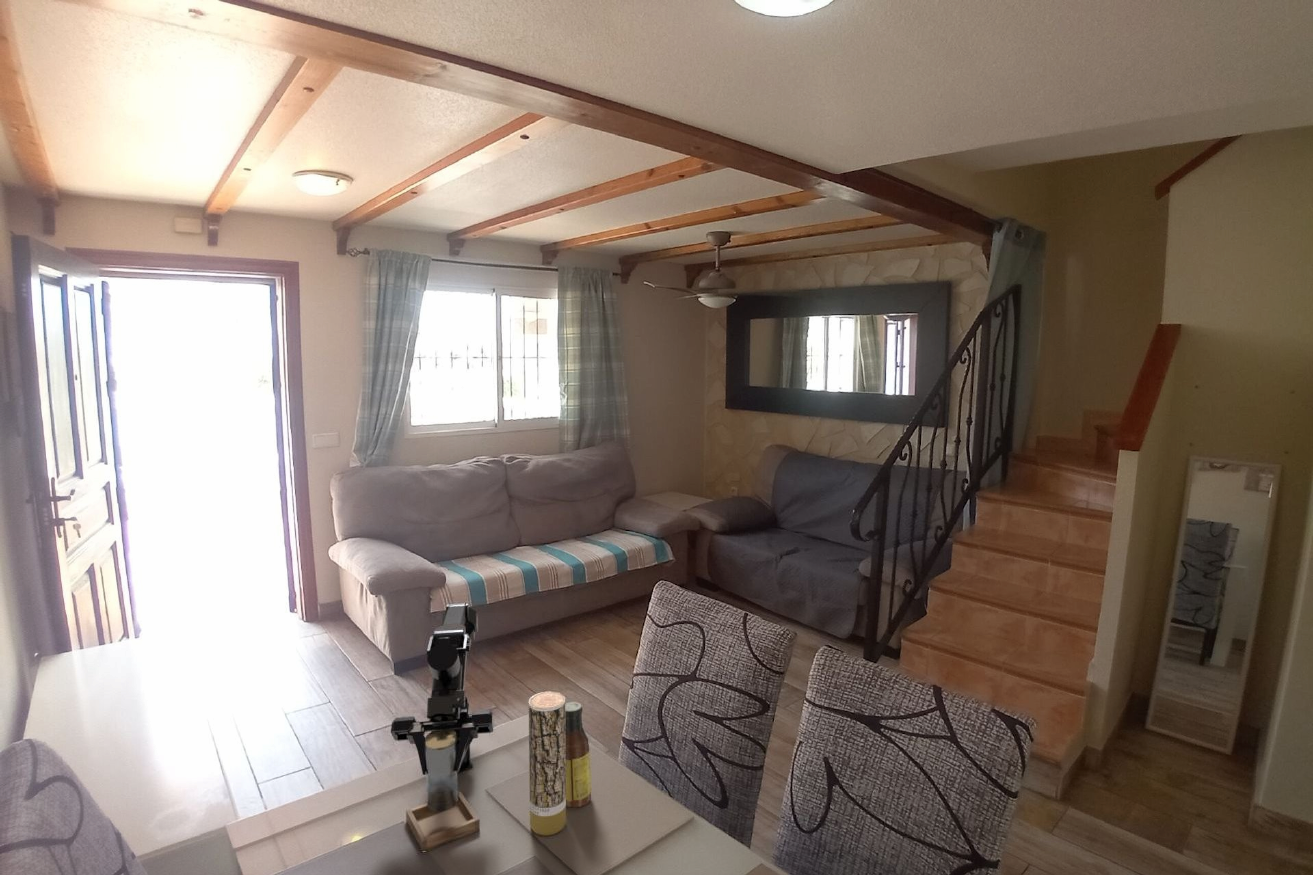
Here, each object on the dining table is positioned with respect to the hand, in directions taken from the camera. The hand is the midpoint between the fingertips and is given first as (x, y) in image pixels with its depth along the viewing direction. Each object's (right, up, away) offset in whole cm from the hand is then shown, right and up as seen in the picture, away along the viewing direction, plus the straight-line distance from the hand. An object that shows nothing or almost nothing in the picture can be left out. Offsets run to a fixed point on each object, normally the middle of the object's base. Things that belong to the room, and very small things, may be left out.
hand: (440, 772), depth 126 cm
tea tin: (0, -6, +2) cm, 7 cm away
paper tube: (+20, -12, +3) cm, 23 cm away
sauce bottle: (+24, -11, +10) cm, 28 cm away
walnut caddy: (0, -11, +2) cm, 11 cm away
